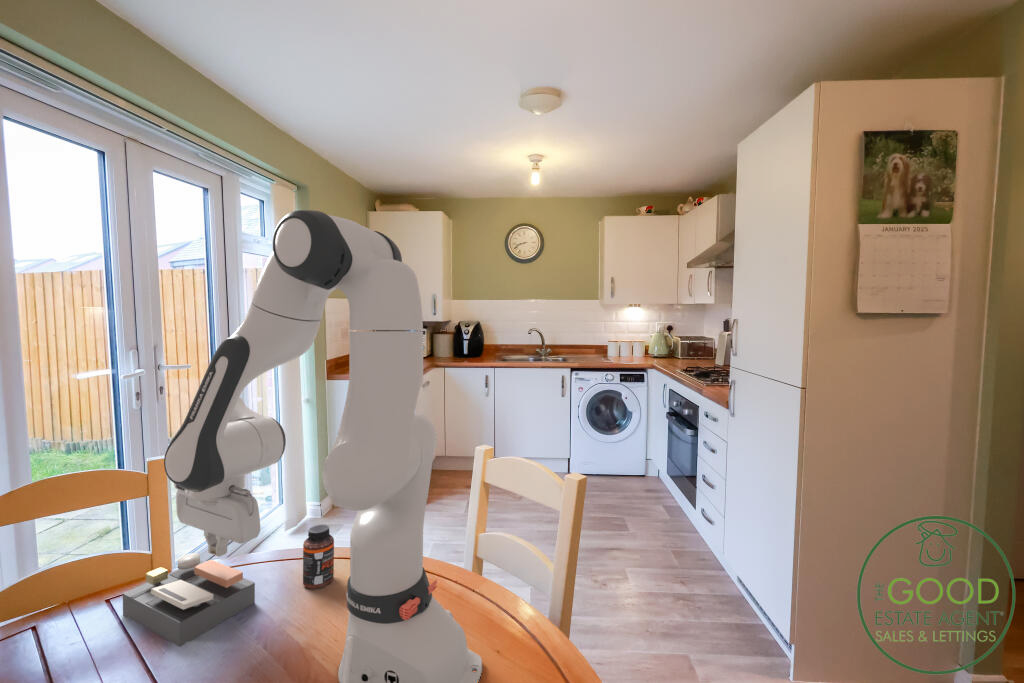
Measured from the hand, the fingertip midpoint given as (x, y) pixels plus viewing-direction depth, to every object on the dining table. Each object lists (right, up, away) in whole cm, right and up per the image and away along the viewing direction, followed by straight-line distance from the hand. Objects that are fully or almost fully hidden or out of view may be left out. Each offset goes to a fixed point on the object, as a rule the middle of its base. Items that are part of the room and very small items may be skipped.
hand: (217, 553), depth 83 cm
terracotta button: (0, -4, 0) cm, 4 cm away
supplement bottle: (+15, -10, +8) cm, 20 cm away
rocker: (-3, -5, -6) cm, 8 cm away
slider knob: (-11, -6, -1) cm, 12 cm away
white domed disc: (-9, -4, +4) cm, 10 cm away
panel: (-4, -10, -1) cm, 11 cm away
